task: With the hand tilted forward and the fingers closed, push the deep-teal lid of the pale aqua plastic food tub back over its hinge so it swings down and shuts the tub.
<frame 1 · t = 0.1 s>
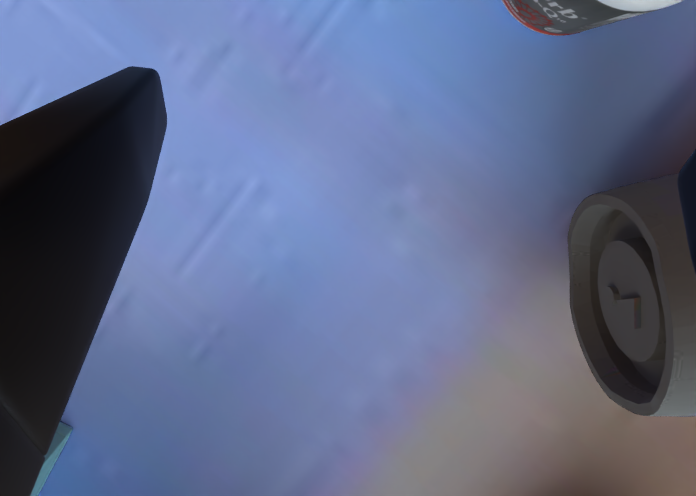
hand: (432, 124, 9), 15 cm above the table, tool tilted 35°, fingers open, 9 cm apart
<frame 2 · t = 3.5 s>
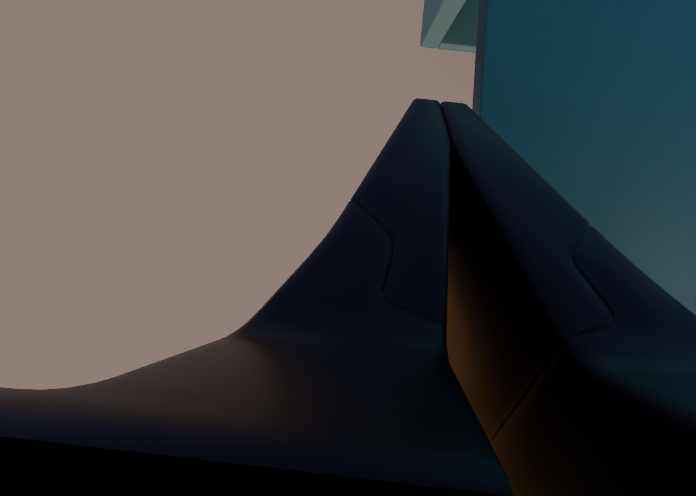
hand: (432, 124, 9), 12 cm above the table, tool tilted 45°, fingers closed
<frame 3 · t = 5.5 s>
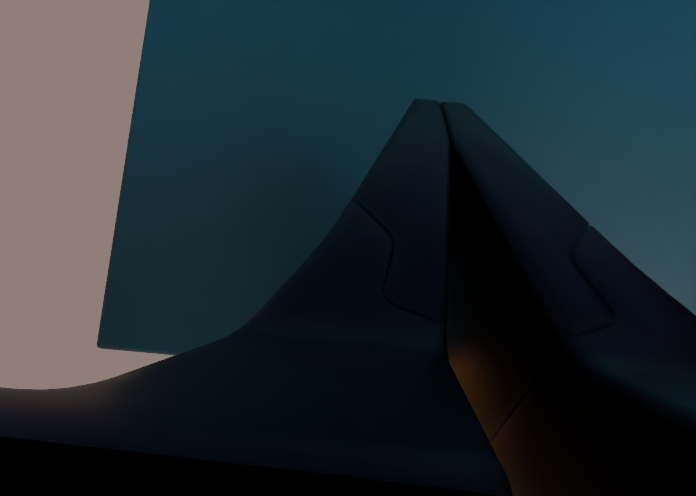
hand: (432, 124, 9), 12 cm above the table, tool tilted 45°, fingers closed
lid: (458, 130, 12), point 12 cm above the table, hinge at 100.0°
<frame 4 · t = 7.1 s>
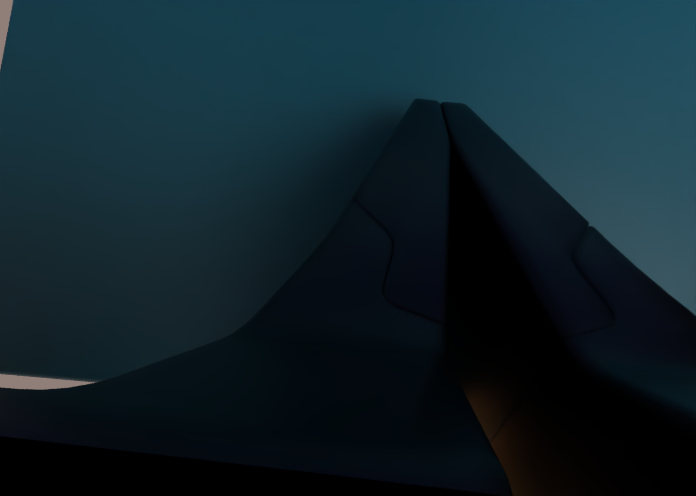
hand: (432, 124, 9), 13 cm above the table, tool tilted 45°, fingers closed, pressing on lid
lid: (427, 90, 10), point 12 cm above the table, hinge at 99.9°, touching gripper
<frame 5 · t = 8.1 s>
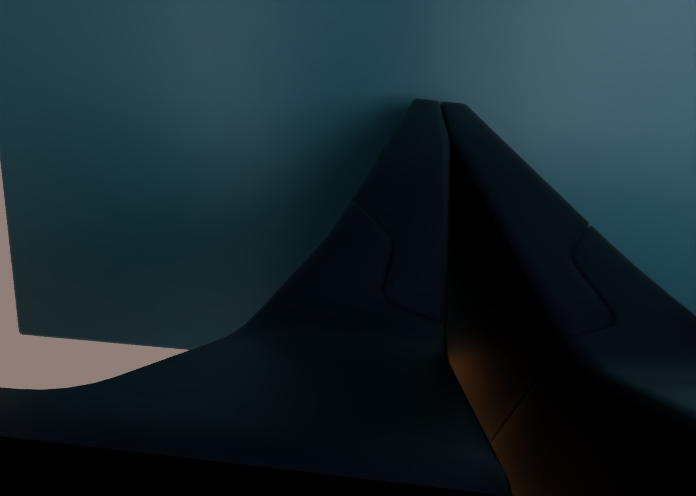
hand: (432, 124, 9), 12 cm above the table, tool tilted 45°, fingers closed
lid: (433, 76, 9), point 12 cm above the table, hinge at 72.9°
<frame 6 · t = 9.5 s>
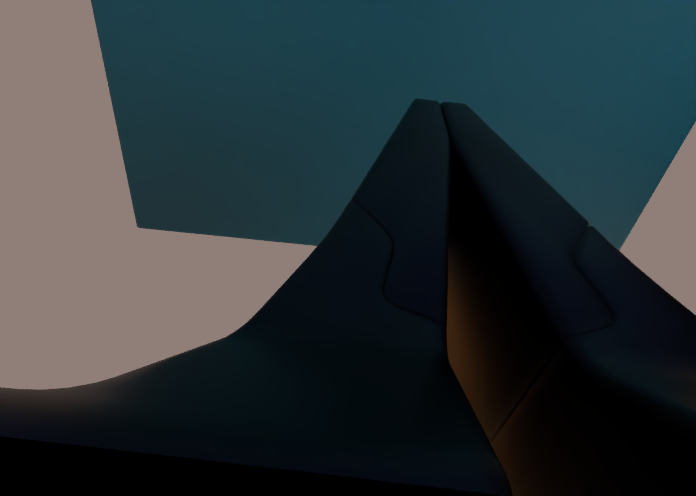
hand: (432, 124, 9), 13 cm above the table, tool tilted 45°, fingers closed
lid: (406, 73, 13), point 11 cm above the table, hinge at 50.6°
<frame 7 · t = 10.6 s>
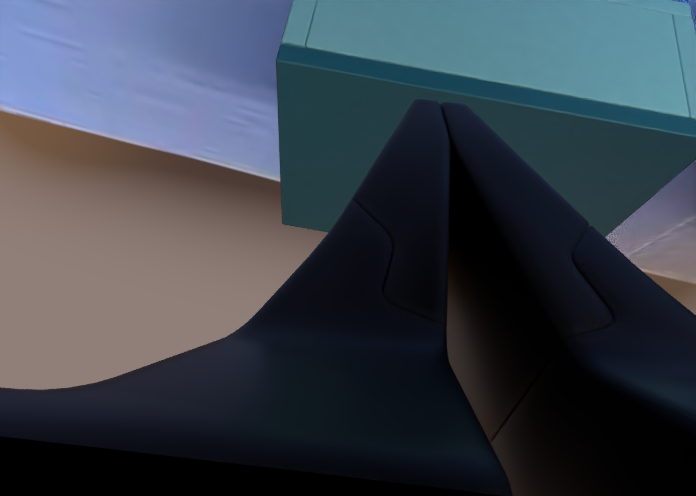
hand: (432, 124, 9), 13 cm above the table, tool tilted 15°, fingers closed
tub: (462, 69, 25), on the table
lid: (452, 184, 22), point 6 cm above the table, hinge at -0.2°
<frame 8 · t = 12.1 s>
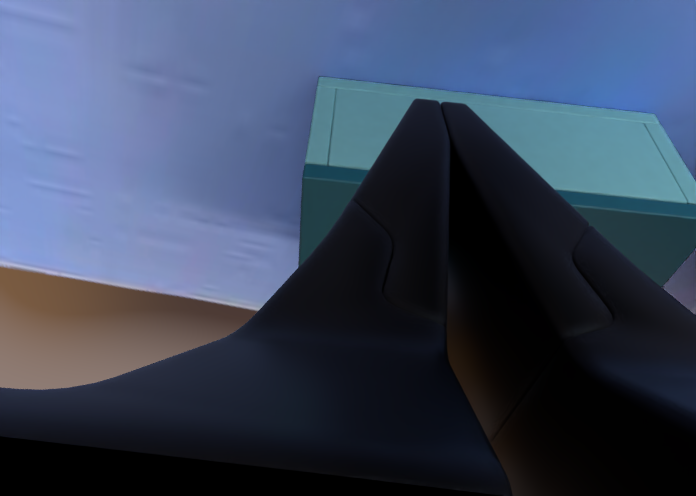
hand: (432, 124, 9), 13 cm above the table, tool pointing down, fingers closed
tub: (458, 187, 27), on the table
lid: (470, 289, 23), point 6 cm above the table, hinge at -0.2°
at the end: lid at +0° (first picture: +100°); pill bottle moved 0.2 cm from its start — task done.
